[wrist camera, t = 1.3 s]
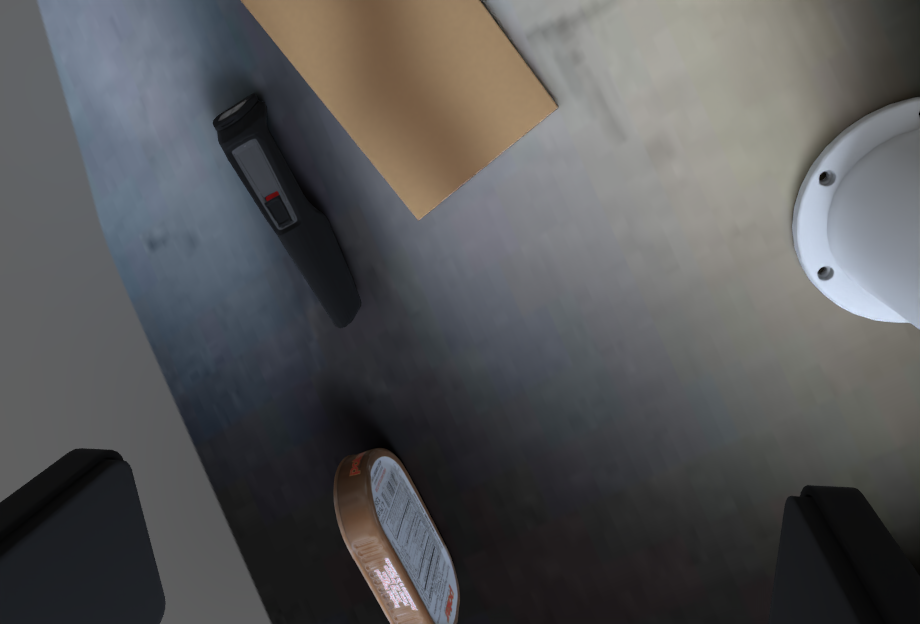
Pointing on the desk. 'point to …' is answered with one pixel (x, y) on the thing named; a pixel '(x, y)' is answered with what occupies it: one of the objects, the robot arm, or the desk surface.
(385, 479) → the tin
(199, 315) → the desk surface
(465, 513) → the desk surface
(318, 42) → the wooden board
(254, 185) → the electric trimmer
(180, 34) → the desk surface
